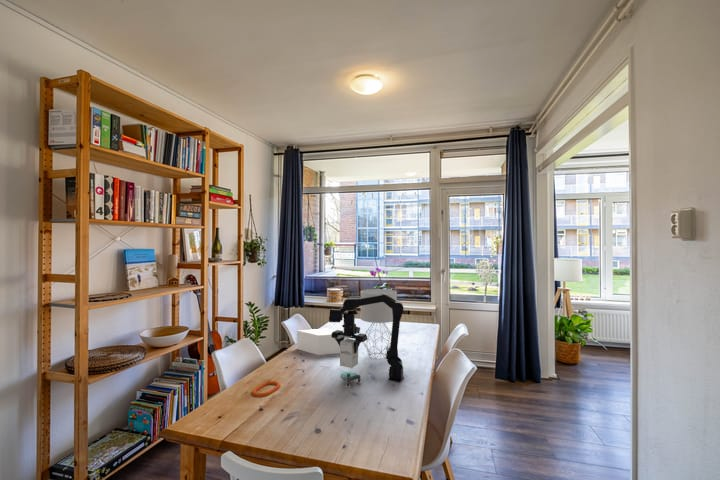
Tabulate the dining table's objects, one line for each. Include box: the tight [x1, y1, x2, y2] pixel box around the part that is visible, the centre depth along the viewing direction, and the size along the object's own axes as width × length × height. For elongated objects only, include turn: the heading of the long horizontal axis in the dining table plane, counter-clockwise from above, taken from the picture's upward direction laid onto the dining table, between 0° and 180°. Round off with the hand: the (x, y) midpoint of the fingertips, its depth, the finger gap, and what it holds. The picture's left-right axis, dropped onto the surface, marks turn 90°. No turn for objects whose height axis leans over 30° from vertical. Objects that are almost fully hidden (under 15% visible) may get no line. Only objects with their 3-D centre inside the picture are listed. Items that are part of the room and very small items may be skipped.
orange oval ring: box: [251, 380, 281, 398], centre depth 154 cm, size 10×2×15 cm
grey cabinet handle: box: [345, 373, 362, 389], centre depth 160 cm, size 8×9×4 cm
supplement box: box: [339, 338, 359, 369], centre depth 168 cm, size 7×7×13 cm
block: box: [296, 327, 350, 356], centre depth 211 cm, size 18×35×12 cm, turn 80°
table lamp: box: [360, 288, 398, 360], centre depth 201 cm, size 22×22×40 cm
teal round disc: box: [340, 371, 358, 380], centre depth 170 cm, size 9×9×1 cm
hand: (349, 352), depth 168 cm, fingers closed on supplement box, 7 cm apart
